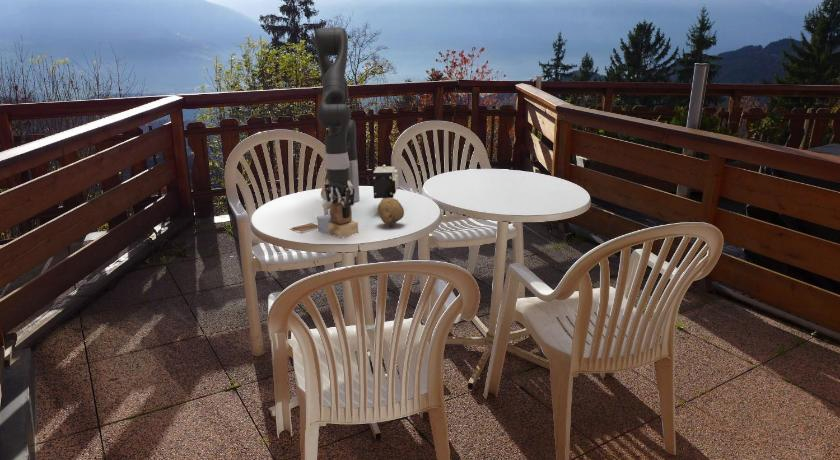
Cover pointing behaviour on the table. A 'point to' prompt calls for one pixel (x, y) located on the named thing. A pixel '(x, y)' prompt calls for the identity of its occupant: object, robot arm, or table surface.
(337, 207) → the walnut cube
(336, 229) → the oak base
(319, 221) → the bluegrey block
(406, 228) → the table surface
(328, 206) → the toy
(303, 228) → the tile
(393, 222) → the natural sponge
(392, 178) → the black and cream box
